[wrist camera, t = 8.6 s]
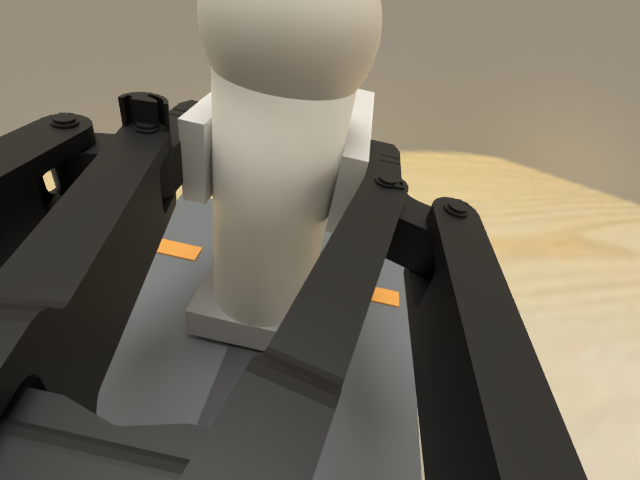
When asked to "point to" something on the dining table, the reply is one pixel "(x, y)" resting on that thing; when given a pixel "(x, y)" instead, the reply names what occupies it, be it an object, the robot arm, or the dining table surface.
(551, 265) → the dining table surface
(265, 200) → the lever
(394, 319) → the console
